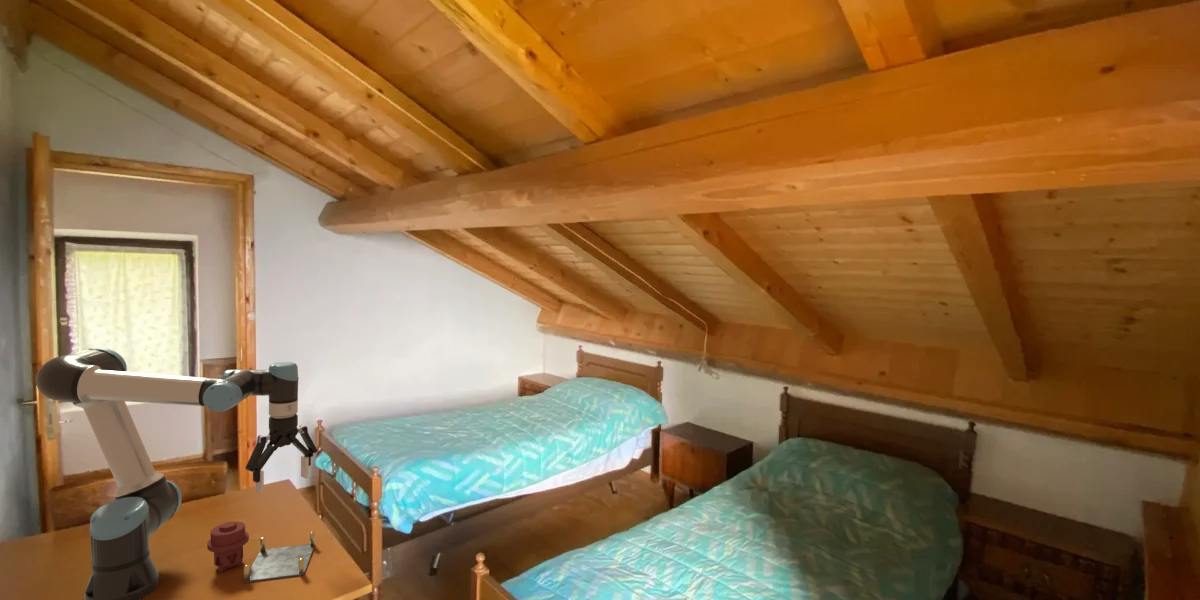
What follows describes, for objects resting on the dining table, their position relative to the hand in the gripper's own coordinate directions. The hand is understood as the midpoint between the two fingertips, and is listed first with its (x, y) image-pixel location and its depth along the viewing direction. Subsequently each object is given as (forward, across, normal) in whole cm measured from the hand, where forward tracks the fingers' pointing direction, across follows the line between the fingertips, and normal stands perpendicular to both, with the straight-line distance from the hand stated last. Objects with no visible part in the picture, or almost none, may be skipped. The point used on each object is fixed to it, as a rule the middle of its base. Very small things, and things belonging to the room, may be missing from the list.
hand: (282, 484), depth 168 cm
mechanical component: (+22, -12, +6) cm, 26 cm away
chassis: (+22, -3, -5) cm, 22 cm away
